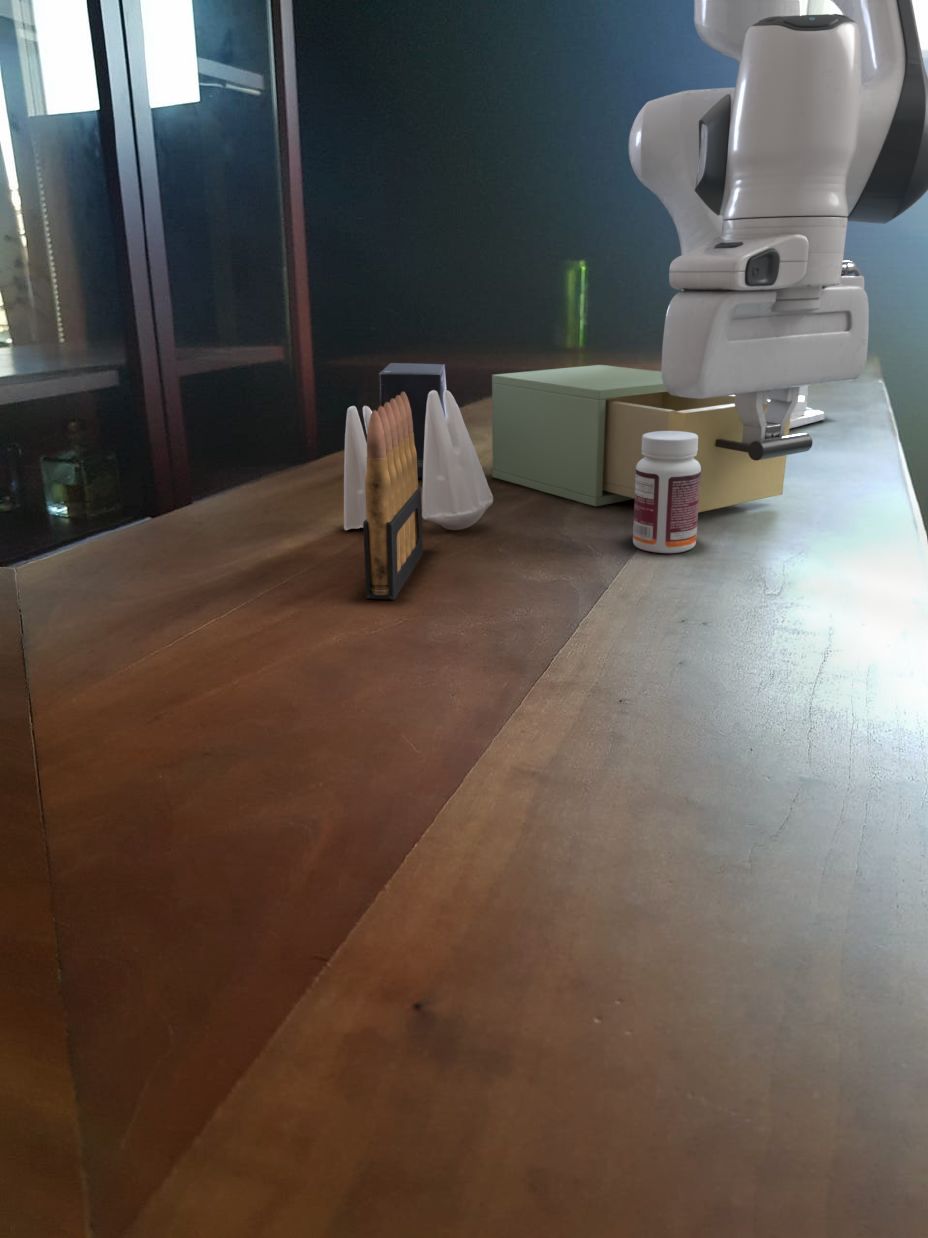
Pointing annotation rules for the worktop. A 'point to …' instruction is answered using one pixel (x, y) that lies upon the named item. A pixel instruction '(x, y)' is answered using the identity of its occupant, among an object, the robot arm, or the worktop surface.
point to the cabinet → (560, 427)
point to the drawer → (721, 454)
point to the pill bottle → (667, 492)
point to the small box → (413, 394)
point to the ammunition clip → (391, 501)
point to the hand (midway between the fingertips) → (762, 446)
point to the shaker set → (425, 468)
